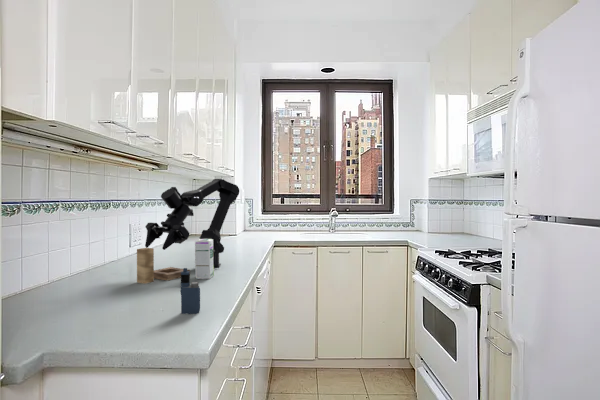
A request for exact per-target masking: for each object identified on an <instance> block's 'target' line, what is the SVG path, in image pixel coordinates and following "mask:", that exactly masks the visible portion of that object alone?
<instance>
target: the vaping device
mask: <svg viewBox="0 0 600 400" xmlns="http://www.w3.org/2000/svg"><path fill="white" fill-rule="evenodd" d="M182 269H183V271H182V272H181V278H180V290H179V291H180V296H181V297H180V303H181V304H180V310H181V311H180V314H183V315H197V314H199V313H200V312H201V288H200V285H199V282H198V281H192V282H191V279H190V278H191V270H190V271H187V270H188V268H187V267H184V268H182Z"/></svg>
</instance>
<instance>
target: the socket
mask: <svg viewBox="0 0 600 400" xmlns="http://www.w3.org/2000/svg"><path fill="white" fill-rule="evenodd" d="M182 271H183V268H178V267H174V266H169V267H164V268H158V269H155V270H154V280H162V281H171V280H176V279H181V272H182ZM187 271H190V272H191V269H187Z"/></svg>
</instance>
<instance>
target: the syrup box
mask: <svg viewBox="0 0 600 400" xmlns="http://www.w3.org/2000/svg"><path fill="white" fill-rule="evenodd" d="M194 263H195V264H194V265H195V266H194V267H195V269H194V270H195V271H194V272H195V273H194V274H195V279H196V280H198V279H199V280H211V278H213V277H214V275H215V270H214V269H215V267H214V255H213V239H200V238H199V239H198V240H195V241H194Z"/></svg>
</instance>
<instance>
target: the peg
mask: <svg viewBox="0 0 600 400" xmlns="http://www.w3.org/2000/svg"><path fill="white" fill-rule="evenodd" d="M154 250H155V249H154V248H151V247H148V248H146V247H141V248H137V249H136V283H138V284H142V285H143V284H144V285H145V284H149V283H154V281H155V278H154V269H155V267H154V263H155V262H154V261H155V260H154V257H155V256H154V254H155V253H154V252H155V251H154Z"/></svg>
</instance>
